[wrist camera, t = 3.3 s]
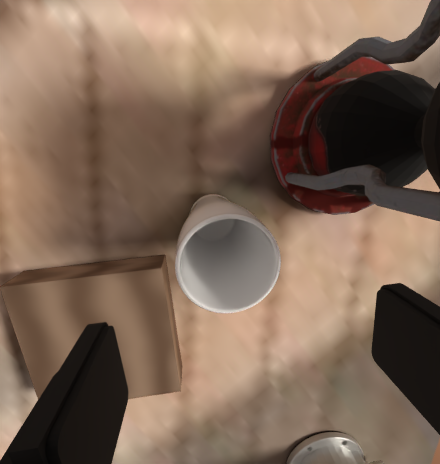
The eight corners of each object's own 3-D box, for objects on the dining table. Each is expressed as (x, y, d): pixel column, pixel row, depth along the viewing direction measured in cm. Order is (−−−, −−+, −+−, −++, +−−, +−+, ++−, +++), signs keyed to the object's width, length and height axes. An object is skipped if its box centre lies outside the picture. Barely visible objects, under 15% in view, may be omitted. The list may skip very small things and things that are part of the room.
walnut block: (165, 254, 31) (161, 268, 28) (182, 366, 36) (180, 391, 32) (24, 271, 30) (-1, 287, 27) (59, 383, 35) (42, 411, 31)
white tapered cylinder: (203, 254, 32) (211, 333, 18) (171, 207, 30) (150, 252, 16) (251, 224, 32) (300, 280, 17) (222, 175, 30) (249, 190, 15)
